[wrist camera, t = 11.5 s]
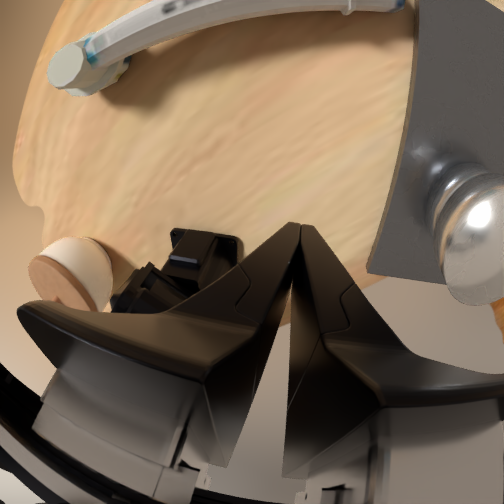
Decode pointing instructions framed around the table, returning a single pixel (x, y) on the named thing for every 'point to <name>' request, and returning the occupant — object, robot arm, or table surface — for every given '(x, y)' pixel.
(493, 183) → the dryer elbow
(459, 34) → the cutting board
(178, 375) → the robot arm
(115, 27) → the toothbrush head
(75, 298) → the lidded jar
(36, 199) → the table surface
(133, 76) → the table surface
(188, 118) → the table surface
